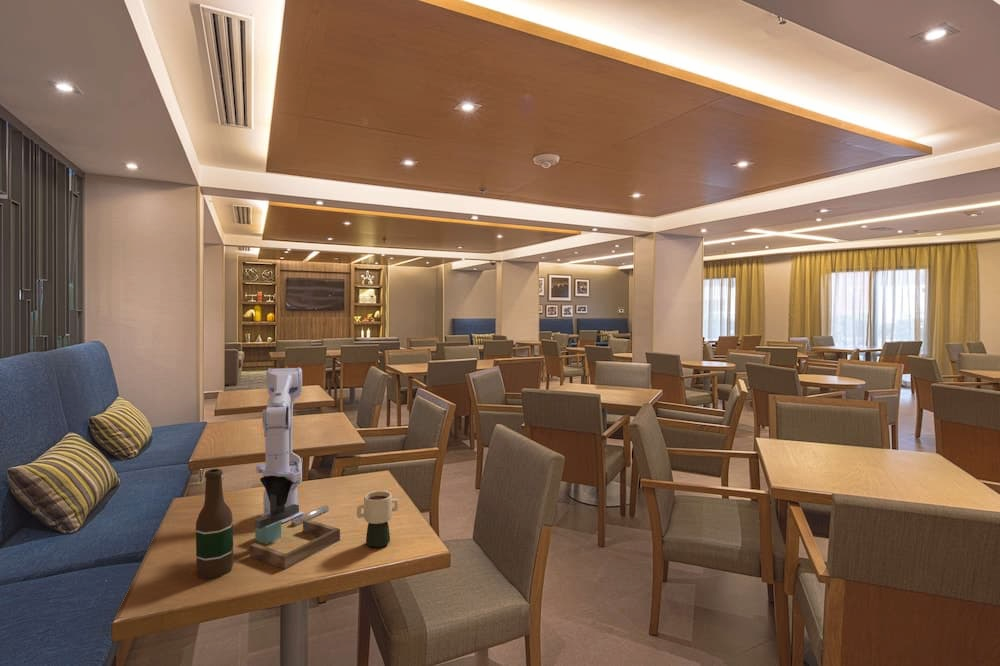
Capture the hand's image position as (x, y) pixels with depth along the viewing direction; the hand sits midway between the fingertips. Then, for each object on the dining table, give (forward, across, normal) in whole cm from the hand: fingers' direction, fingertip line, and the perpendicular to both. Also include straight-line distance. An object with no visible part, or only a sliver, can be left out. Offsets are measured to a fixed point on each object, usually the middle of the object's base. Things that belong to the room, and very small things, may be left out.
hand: (278, 503), depth 134 cm
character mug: (+11, +24, +12) cm, 28 cm away
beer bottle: (+11, 0, -17) cm, 20 cm away
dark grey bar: (+4, 0, 0) cm, 4 cm away
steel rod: (+11, -4, +15) cm, 19 cm away
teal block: (+10, -4, 0) cm, 11 cm away
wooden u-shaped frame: (+10, +6, 0) cm, 12 cm away
